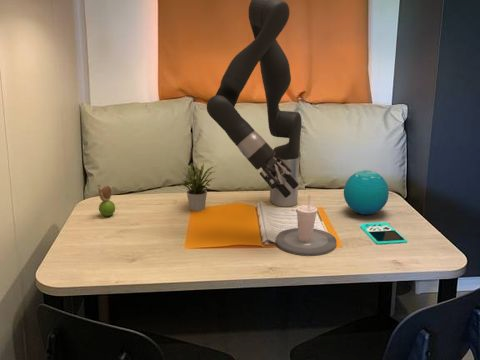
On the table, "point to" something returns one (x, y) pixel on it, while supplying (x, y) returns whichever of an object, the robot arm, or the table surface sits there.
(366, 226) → the handheld game console
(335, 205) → the table surface
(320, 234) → the dish
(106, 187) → the snail figurine
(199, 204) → the house plant
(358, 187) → the decorative orb
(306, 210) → the smoothie
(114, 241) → the table surface
